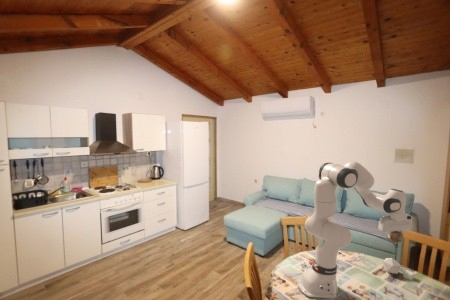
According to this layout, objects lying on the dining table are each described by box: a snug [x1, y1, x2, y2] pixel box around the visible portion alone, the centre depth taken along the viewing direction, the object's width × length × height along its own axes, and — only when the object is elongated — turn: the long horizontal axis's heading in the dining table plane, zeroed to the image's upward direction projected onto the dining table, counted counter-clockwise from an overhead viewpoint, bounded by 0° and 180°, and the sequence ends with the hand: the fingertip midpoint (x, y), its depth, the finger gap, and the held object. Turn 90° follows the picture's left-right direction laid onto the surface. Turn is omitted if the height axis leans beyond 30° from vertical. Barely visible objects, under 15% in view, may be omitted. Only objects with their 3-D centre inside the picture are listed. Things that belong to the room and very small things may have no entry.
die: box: [382, 257, 401, 275], centre depth 138 cm, size 8×9×10 cm
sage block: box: [402, 269, 415, 281], centre depth 133 cm, size 4×4×4 cm
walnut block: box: [386, 231, 403, 243], centre depth 135 cm, size 5×5×6 cm
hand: (394, 237), depth 136 cm, fingers closed on walnut block, 5 cm apart
